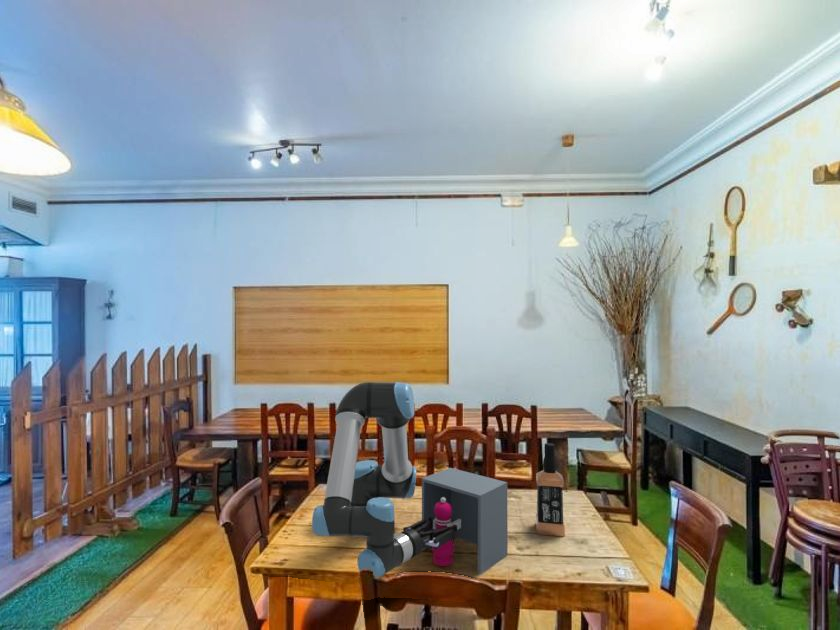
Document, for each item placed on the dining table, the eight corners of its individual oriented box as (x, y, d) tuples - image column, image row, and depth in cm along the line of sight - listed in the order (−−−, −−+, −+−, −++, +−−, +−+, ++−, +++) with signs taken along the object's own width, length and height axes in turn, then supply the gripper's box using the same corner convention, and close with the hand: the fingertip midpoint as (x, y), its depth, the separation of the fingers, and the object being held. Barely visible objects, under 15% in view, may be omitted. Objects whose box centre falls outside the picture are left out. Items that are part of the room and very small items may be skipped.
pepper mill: (435, 568, 140) (435, 502, 141) (428, 557, 147) (429, 494, 148) (457, 565, 142) (457, 500, 143) (449, 554, 149) (450, 492, 149)
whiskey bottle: (565, 537, 165) (564, 448, 166) (537, 534, 167) (536, 446, 168) (562, 524, 175) (561, 441, 176) (535, 522, 177) (535, 439, 178)
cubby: (421, 549, 155) (421, 478, 156) (450, 533, 167) (450, 467, 168) (480, 574, 139) (480, 495, 140) (507, 555, 151) (507, 482, 152)
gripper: (382, 549, 137) (431, 524, 155) (428, 570, 125) (476, 540, 143) (382, 524, 137) (431, 502, 155) (428, 542, 125) (476, 516, 143)
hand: (452, 520), depth 149 cm, fingers closed on pepper mill, 5 cm apart
